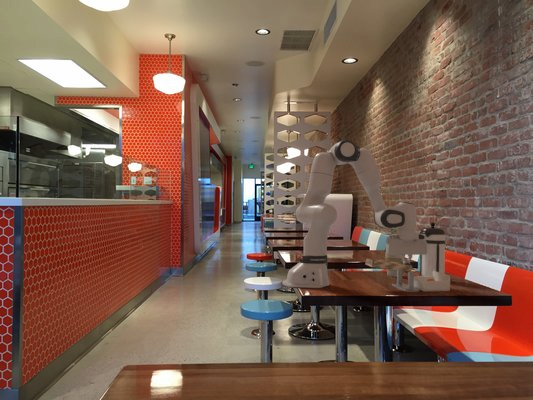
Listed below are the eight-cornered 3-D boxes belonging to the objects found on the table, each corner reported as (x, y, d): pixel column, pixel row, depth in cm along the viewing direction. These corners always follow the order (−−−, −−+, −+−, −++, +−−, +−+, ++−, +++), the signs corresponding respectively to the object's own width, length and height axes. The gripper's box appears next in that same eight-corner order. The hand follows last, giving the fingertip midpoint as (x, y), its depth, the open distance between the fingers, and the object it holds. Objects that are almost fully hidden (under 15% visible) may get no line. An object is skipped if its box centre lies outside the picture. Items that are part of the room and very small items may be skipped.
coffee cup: (400, 274, 233) (400, 247, 233) (404, 277, 223) (404, 249, 223) (382, 273, 234) (382, 247, 234) (385, 276, 224) (386, 249, 224)
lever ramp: (371, 269, 187) (372, 260, 187) (358, 263, 204) (359, 256, 204) (423, 275, 191) (424, 267, 191) (406, 269, 207) (407, 262, 207)
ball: (432, 277, 193) (438, 282, 194) (427, 275, 197) (434, 280, 198) (427, 284, 193) (434, 289, 193) (423, 282, 197) (429, 287, 197)
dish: (423, 291, 188) (424, 275, 188) (409, 285, 201) (409, 271, 201) (449, 291, 189) (450, 275, 189) (433, 285, 203) (434, 270, 203)
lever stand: (406, 292, 186) (406, 272, 186) (391, 285, 201) (392, 267, 201) (419, 291, 186) (419, 272, 187) (403, 285, 201) (403, 267, 201)
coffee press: (454, 282, 210) (455, 223, 210) (422, 282, 210) (423, 222, 211) (440, 276, 227) (441, 221, 228) (411, 276, 228) (412, 221, 228)
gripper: (389, 235, 199) (388, 264, 199) (429, 236, 201) (429, 264, 201) (383, 234, 205) (383, 262, 205) (422, 235, 208) (422, 262, 208)
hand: (406, 263), depth 203 cm, fingers closed
